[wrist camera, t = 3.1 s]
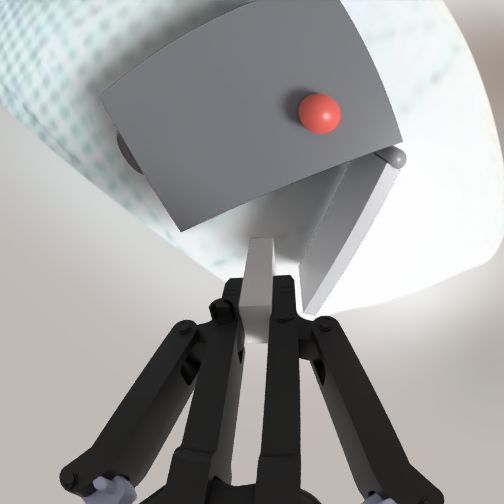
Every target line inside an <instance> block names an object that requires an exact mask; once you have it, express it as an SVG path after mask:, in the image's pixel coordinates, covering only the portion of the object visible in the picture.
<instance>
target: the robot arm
mask: <svg viewBox="0 0 504 504" xmlns="http://www.w3.org/2000/svg"><path fill="white" fill-rule="evenodd" d="M209 310H210V313H211V317H212V320H211V321H210V322H207V323H204V324H199V325H196V323H195V322H194V321H191V320H183V321H180V322H178V323H176V324H175V325H174V327H173V328H172V329H171V331H170V333H169V334H168V335H167V336H166V338H165V339H164V341H163V342H162V344H161V345H160V347H159V348H158V349H157V351H156V352H155V354H154V355H153V357H152V358H151V359H150V361H149V362H148V364H147V365H146V367H145V368H144V370H143V371H142V372H141V374H140V376H139V377H138V378H137V380H136V381H135V383H134V384H133V386H132V387H131V389H130V390H129V392H128V393H127V394H126V396H125V397H124V399H123V400H122V402H121V404H120V405H119V406H118V408H117V410H116V411H115V412H114V414H113V415H112V417H111V418H110V420H109V421H108V423H107V424H106V426H105V427H104V429H103V431H102V432H101V434H100V435H99V437H98V438H97V440H96V441H95V443H94V444H93V446H92V447H91V448H90V449H88V450H87V451H86V452H84V453H83V454H82V455H80V456H79V457H78V458H76V459H75V460H73V461H72V462H71V463H69V464H68V465H67V466H65V467H64V468H63V469H62V470H61V473H60V482H61V485H62V486H63V487H64V489H65V490H67V491H68V492H71V493H73V494H76V495H78V496H80V497H81V498H82V499H83V500H84V501H85V503H86V504H132V503H133V502H134V501H135V500H136V499H137V494H136V492H135V489H134V488H135V487H136V486H137V485H138V484H139V483H140V482H141V481H142V480H143V478H144V477H145V476H146V474H147V472H148V471H149V469H150V468H151V466H152V464H153V462H154V460H155V459H156V457H157V455H158V453H159V452H160V450H161V448H162V446H163V444H164V443H165V441H166V439H167V437H168V435H169V434H170V432H171V430H172V428H173V426H174V425H175V423H176V421H177V419H178V417H179V415H180V413H181V412H182V410H183V408H184V406H185V405H186V403H187V401H188V399H189V397H190V395H191V394H192V392H193V390H194V394H193V398H192V402H191V406H190V411H189V415H188V419H187V423H186V428H185V432H184V436H183V440H182V444H181V446H180V447H178V448H176V450H175V451H174V454H173V457H172V461H171V465H170V469H169V474H168V478H167V483H166V485H165V486H163V487H162V488H160V489H159V490H157V491H156V492H155V493H153V494H152V495H151V496H149V497H148V498H146V499H145V500H143V502H141V503H139V504H321V503H320V502H319V501H318V500H317V498H315V497H314V496H313V495H312V494H310V493H308V492H307V491H305V490H302V489H300V483H301V479H300V478H301V454H300V379H299V378H300V377H299V358H301V359H305V360H310V363H311V366H312V368H313V371H314V374H315V376H316V379H317V382H318V384H319V386H320V389H321V392H322V394H323V397H324V400H325V402H326V405H327V408H328V410H329V413H330V416H331V418H332V421H333V424H334V426H335V429H336V432H337V434H338V437H339V440H340V443H341V445H342V448H343V451H344V453H345V456H346V459H347V461H348V464H349V467H350V470H351V472H352V475H353V478H354V481H355V483H356V485H357V487H358V490H359V491H360V493H361V494H362V496H363V497H364V499H365V501H364V502H363V503H362V504H444V496H443V494H442V493H441V491H440V490H439V489H438V488H436V487H435V486H434V485H433V484H432V483H431V482H430V481H428V480H427V479H426V478H425V477H424V476H423V475H422V474H420V473H419V472H418V471H417V470H416V469H415V468H414V467H413V466H412V465H411V464H410V463H409V461H408V459H407V456H406V454H405V452H404V450H403V448H402V445H401V443H400V441H399V439H398V437H397V435H396V433H395V431H394V429H393V426H392V424H391V422H390V420H389V418H388V416H387V414H386V412H385V410H384V408H383V406H382V404H381V402H380V400H379V398H378V396H377V394H376V392H375V390H374V388H373V386H372V384H371V382H370V380H369V378H368V376H367V375H366V373H365V371H364V369H363V367H362V365H361V363H360V361H359V359H358V357H357V355H356V354H355V352H354V350H353V348H352V346H351V344H350V342H349V341H348V339H347V337H346V335H345V333H344V331H343V329H342V328H341V326H340V324H339V322H338V321H337V320H336V319H334V318H333V317H330V316H320V317H318V318H316V319H315V320H314V321H310V320H306V319H303V318H301V317H300V316H299V315H298V314H297V311H296V300H295V285H294V279H293V278H292V277H291V275H280V276H276V267H275V254H274V242H273V237H266V238H250V244H249V249H248V255H247V261H246V266H245V272H244V278H230V279H229V280H228V281H227V282H226V284H225V287H224V291H223V296H222V298H220V299H217V300H215V301H213V302H212V303H211V304H210V306H209ZM244 341H246V343H247V344H252V343H253V344H254V343H268V357H267V372H266V388H265V404H264V417H263V430H262V443H261V453H260V456H259V460H258V468H257V479H256V483H255V484H250V485H243V486H232V485H231V479H232V473H231V460H232V452H233V444H234V436H235V429H236V421H237V412H238V404H239V396H240V388H241V381H242V373H243V364H244V356H245V348H244ZM194 388H195V389H194Z"/></svg>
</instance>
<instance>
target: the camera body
mask: <svg viewBox="0 0 504 504" xmlns="http://www.w3.org/2000/svg"><path fill="white" fill-rule="evenodd" d="M99 97H100V98H101V100H102V102H103V104H104V106H105V108H106V109H107V111H108V113H109V115H110V117H111V118H112V120H113V122H114V124H115V125H116V127H117V129H118V131H117V141H118V145H119V148H120V150H121V152H122V154H123V156H124V158H125V159H126V160H127V162H128V163H129V164H130V165H131V166H132V167H133V168H134V169H135V170H136V171H138V172H139V173H141V174H143V175H145V176H146V178H147V180H148V181H149V183H150V184H151V186H152V188H153V189H154V191H155V192H156V194H157V196H158V197H159V199H160V200H161V202H162V204H163V205H164V207H165V208H166V210H167V211H168V213H169V215H170V216H171V218H172V219H173V221H174V222H175V224H176V225H177V227H178V228H179V230H180V231H181V232H183V231H185V230H187V229H189V228H191V227H193V226H195V225H198V224H200V223H202V222H204V221H206V220H208V219H211V218H213V217H215V216H217V215H219V214H222V213H224V212H226V211H228V210H230V209H233V208H235V207H237V206H239V205H242V204H244V203H246V202H249V201H251V200H253V199H256V198H258V197H260V196H263V195H265V194H267V193H270V192H272V191H274V190H277V189H279V188H282V187H284V186H286V185H289V184H291V183H294V182H296V181H299V180H301V179H304V178H306V177H309V176H311V175H314V174H316V173H319V172H321V171H324V170H326V169H329V168H332V167H334V166H337V165H339V164H342V163H345V162H347V161H350V160H353V159H355V158H358V157H361V156H364V155H366V154H369V153H372V152H375V151H377V150H380V149H383V148H386V147H389V146H392V145H395V144H398V143H400V142H403V141H402V137H401V134H400V131H399V128H398V124H397V121H396V118H395V115H394V113H393V110H392V107H391V104H390V101H389V99H388V96H387V94H386V91H385V88H384V86H383V84H382V81H381V79H380V76H379V74H378V72H377V69H376V67H375V65H374V63H373V61H372V58H371V56H370V54H369V52H368V50H367V48H366V46H365V44H364V42H363V40H362V38H361V36H360V34H359V33H358V31H357V29H356V27H355V25H354V23H353V22H352V20H351V18H350V16H349V15H348V13H347V11H346V10H345V8H344V6H343V5H342V3H341V2H340V0H256V1H253V2H251V3H248V4H246V5H243V6H241V7H238V8H236V9H234V10H232V11H229V12H227V13H225V14H223V15H221V16H219V17H217V18H215V19H213V20H211V21H209V22H207V23H205V24H203V25H201V26H199V27H197V28H195V29H193V30H192V31H190V32H188V33H186V34H185V35H183V36H181V37H180V38H178V39H176V40H175V41H173V42H171V43H170V44H168V45H167V46H165V47H163V48H162V49H160V50H159V51H157V52H156V53H154V54H153V55H151V56H150V57H149V58H147V59H146V60H144V61H143V62H141V63H140V64H139V65H137V66H136V67H135V68H133V69H132V70H131V71H129V72H128V73H127V74H125V75H124V76H123V77H122V78H120V79H119V80H118V81H117V82H115V83H114V84H113V85H112V86H111V87H109V88H108V89H107V90H106V91H105V92H104V93H103V94H101V95H100V96H99Z"/></svg>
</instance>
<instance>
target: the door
mask: <svg viewBox="0 0 504 504" xmlns="http://www.w3.org/2000/svg"><path fill="white" fill-rule="evenodd" d="M405 163H406V155H405V153H404V152H403V151H402V150H400V149H398V148H397V147H395V146H393V145H392V146H389V147H386V148H383V149H380V150H377V151H375V152H372V153H369V154H366V155H364V156H361V157H358V158H355V159H353V160H350V163H349V165H348V167H347V169H346V171H345V173H344V176H343V178H342V180H341V182H340V184H339V186H338V188H337V190H336V193H335V195H334V197H333V199H332V201H331V203H330V205H329V207H328V209H327V211H326V213H325V215H324V217H323V219H322V221H321V223H320V225H319V227H318V229H317V231H316V233H315V235H314V237H313V239H312V241H311V243H310V245H309V247H308V249H307V251H306V253H305V255H304V257H303V258H302V260H301V262H300V264H299V275H300V285H301V295H302V306H303V313H306V314H310V315H314V316H315V315H316V314H317V312H318V311H319V309H320V308H321V306H322V305H323V303H324V302H325V300H326V299H327V297H328V296H329V294H330V293H331V291H332V290H333V288H334V287H335V285H336V284H337V282H338V280H339V279H340V277H341V276H342V274H343V273H344V271H345V269H346V268H347V266H348V264H349V263H350V261H351V260H352V258H353V256H354V255H355V253H356V251H357V250H358V248H359V246H360V245H361V243H362V241H363V239H364V238H365V236H366V234H367V232H368V231H369V229H370V227H371V225H372V224H373V222H374V220H375V218H376V216H377V215H378V213H379V211H380V209H381V207H382V205H383V203H384V202H385V200H386V198H387V196H388V194H389V192H390V190H391V188H392V186H393V184H394V182H395V180H396V178H397V176H398V174H399V172H400V170H399V169H400V168H402V167H403V166H404V165H405Z"/></svg>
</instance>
